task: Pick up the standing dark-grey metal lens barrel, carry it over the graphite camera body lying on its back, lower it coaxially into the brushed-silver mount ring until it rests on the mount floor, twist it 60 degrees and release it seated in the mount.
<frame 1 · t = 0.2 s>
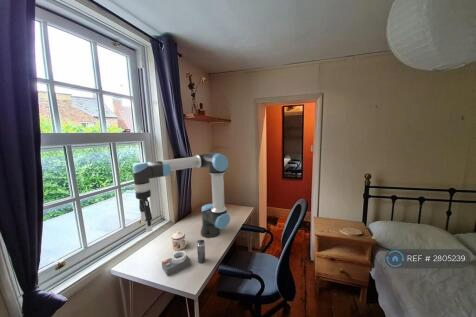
hand: (146, 226, 110), 28 cm above the table, fingers open, 13 cm apart
teacup with lid: (180, 247, 136), on the table
lens: (201, 261, 121), on the table
camera body: (176, 266, 117), on the table
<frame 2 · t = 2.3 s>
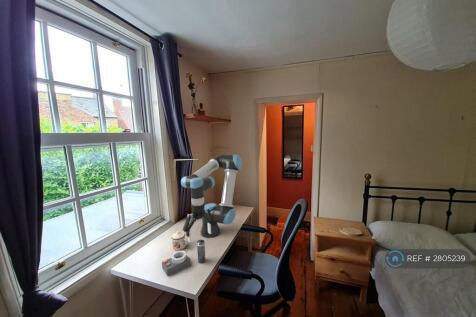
hand: (199, 237, 118), 16 cm above the table, fingers open, 13 cm apart
nothing on the table moved.
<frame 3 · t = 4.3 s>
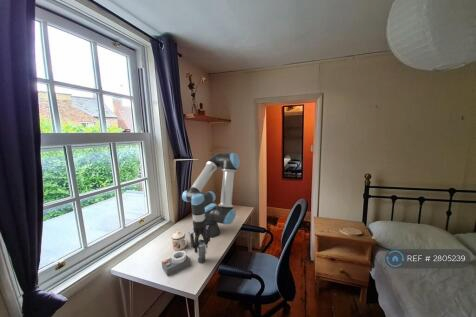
hand: (201, 254, 120), 4 cm above the table, fingers closed on lens, 4 cm apart
lens: (201, 260, 121), on the table, touching gripper
everything else where it was.
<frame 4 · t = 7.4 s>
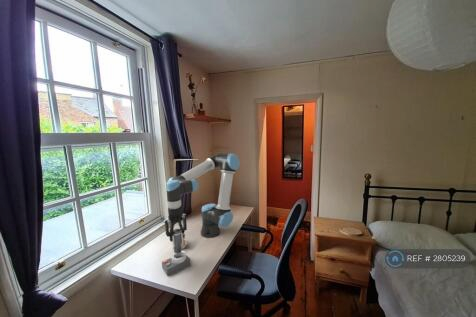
hand: (177, 243, 116), 14 cm above the table, fingers closed on lens, 4 cm apart
lens: (178, 250, 116), point 9 cm above the table, touching gripper
everything else where it was.
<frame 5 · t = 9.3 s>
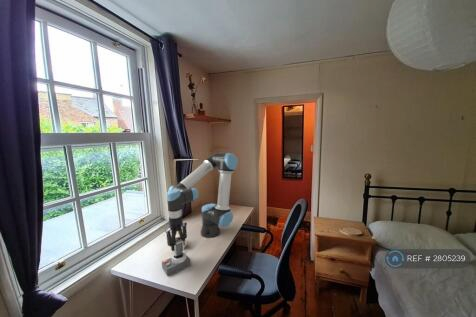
hand: (178, 252, 117), 8 cm above the table, fingers closed on lens, 5 cm apart
lens: (179, 259, 117), point 4 cm above the table, touching gripper
everything else where it was.
when the fingers open (8 cm above the table, at t = 10.4 s): lens stays where it is, resting on camera body.
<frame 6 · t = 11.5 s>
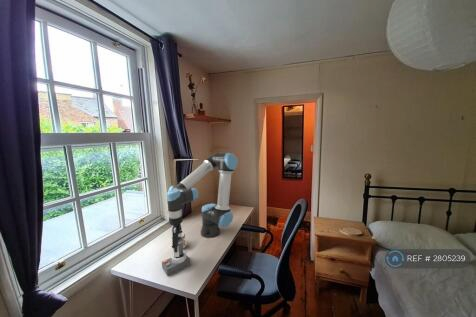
hand: (178, 249, 117), 10 cm above the table, fingers open, 13 cm apart
lens: (179, 258, 117), point 4 cm above the table, touching camera body
everything else where it was.
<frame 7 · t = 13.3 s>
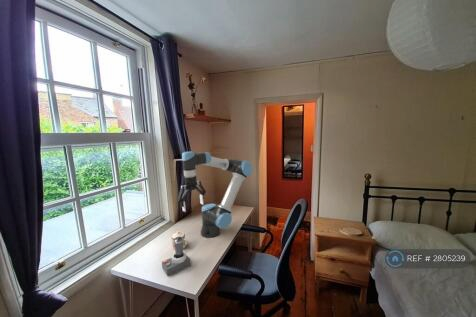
hand: (193, 207, 126), 31 cm above the table, fingers open, 13 cm apart
nothing on the table moved.
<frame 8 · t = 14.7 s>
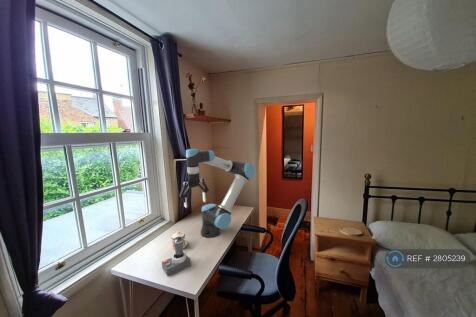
hand: (195, 204, 128), 33 cm above the table, fingers open, 13 cm apart
nothing on the table moved.
at the end: lens 0.5 cm from the target spot on the camera body, point 4.1 cm above the camera body's base; lens tilted 1°; the gripper is holding nothing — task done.
